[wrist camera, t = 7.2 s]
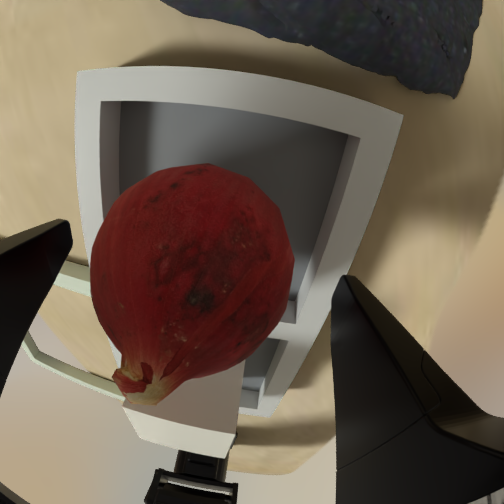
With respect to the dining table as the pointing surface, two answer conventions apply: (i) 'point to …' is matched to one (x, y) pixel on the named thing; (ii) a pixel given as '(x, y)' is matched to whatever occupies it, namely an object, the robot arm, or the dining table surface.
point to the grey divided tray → (247, 164)
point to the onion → (188, 277)
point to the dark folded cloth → (365, 33)
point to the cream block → (193, 414)
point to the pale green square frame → (77, 281)
